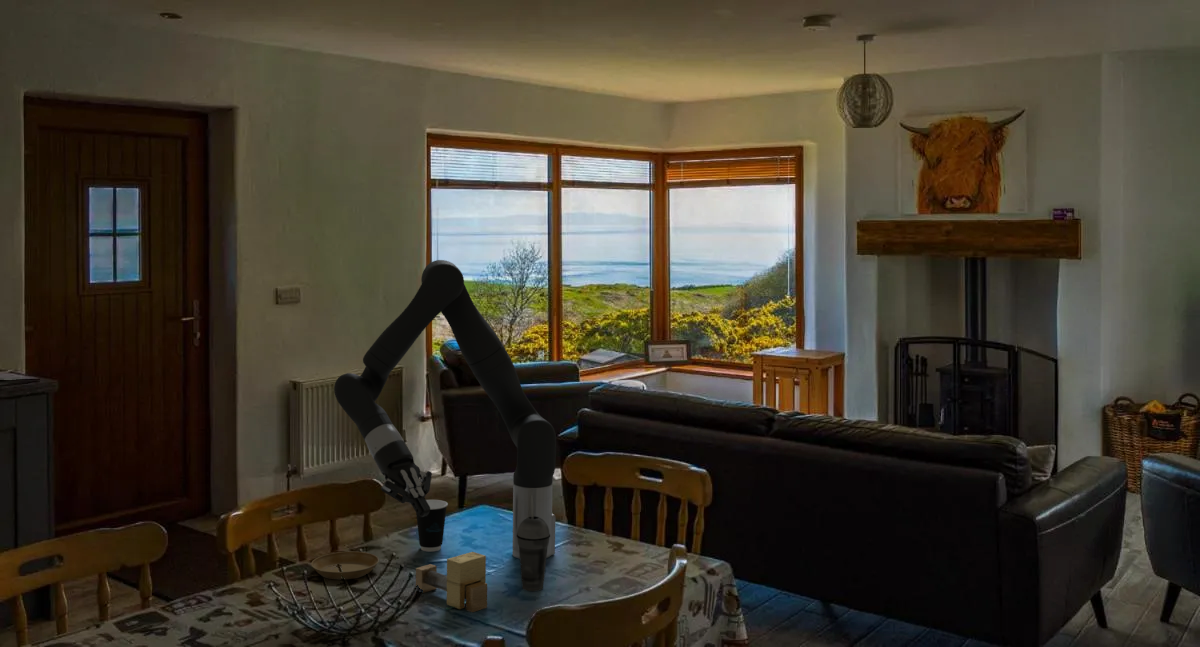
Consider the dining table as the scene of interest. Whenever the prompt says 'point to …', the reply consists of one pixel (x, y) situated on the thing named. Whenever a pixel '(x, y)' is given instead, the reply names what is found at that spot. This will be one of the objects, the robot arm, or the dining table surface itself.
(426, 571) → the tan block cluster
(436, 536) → the dixie cup
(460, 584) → the wooden block arch
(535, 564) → the beverage cup
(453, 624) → the dining table surface
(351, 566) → the plant saucer
